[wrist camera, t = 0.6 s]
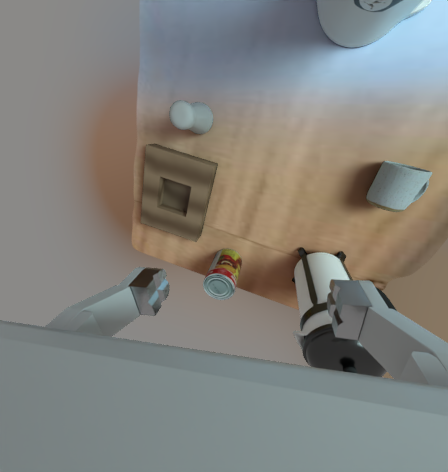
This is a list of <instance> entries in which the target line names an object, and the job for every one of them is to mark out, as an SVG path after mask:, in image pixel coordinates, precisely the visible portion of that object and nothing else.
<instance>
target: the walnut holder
mask: <svg viewBox="0 0 448 472" xmlns="http://www.w3.org/2000/svg"><path fill="white" fill-rule="evenodd" d="M217 166H218V164H217V163H214V162H211V161H208V160H204V159H201V158H198V157H195V156H192V155H189V154H186V153H182V152H179V151H176V150H173V149H170V148H167V147H163V146H160V145H157V144H148V145H146V152H145V167H144V181H143V196H142V211H141V223H143V224H146V225H149V226H151V227H154V228H157V229H160V230H163V231H166V232H169V233H172V234H175V235H178V236H180V237H183V238H186V239H189V240H192V241H195V242H197V240H198V239H199V237H200V236H201V233H202V229H203V225H204V221H205V216H206V212H207V208H208V204H209V199H210V195H211V191H212V187H213V182H214V178H215V174H216V170H217Z"/></svg>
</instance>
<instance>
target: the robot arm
mask: <svg viewBox="0 0 448 472" xmlns="http://www.w3.org/2000/svg"><path fill="white" fill-rule="evenodd" d="M316 1H317V9H318V16H319V20H320V23H321V26H322V28H323V30H324V32H325V33H326V35H327V36H328V37H329V38H330V39H331V40H332V41H333V42H335V43H336V44H338V45H341V46H344V47H361V46H365V45H368V44H370V43H373V42H375V41H376V40H378V39H380V38H381V37H383V36H384V35H386V34H387V33H388V32H389V31H391V30H392V29H393V28H394V27H395V26H396V25H397V24H398V23H400V22H401V21H402V20H404V19H406V18H408V17H411V16H413V15H415V14H417V13H419V12H421V11H422V10H424V9H425V8H426V7H427V6H428V5H429V4H430V2H431V1H432V0H316ZM166 276H167V275H166V272H165V270H164V269H157V268H145V267H138V268H135V269H134V270H133V272H131V273H130V274H129V275H128V276H127V277H126V278H125V279H124V280H123V281H122V282H121V283H120V284H119V285H118V286H113V287H111V288H109V289H107V290H105V291H103V292H101V293H98V294H96V295H94V296H92V297H90V298H87V299H85V300H83V301H81V302H79V303H77V304H75V305H72V306H70V307H68V308H66V309H65V310H64V311H63V312H61V313H60V314H59V315H58V316H57V317H56V318H55V319H53V320H52V321H51V322H50V323H49V324H48V325H46V326H45V327H42V326H36V325H29V324H22V323H15V322H9V321H2V320H0V472H448V343H447V342H445V341H443V340H442V339H440V338H439V337H437V336H435V335H434V334H432V333H430V332H429V331H427V330H426V329H424V328H423V327H421V326H420V325H418V324H416V323H415V322H413V321H412V320H410V319H408V318H407V317H405V316H404V315H402V314H400V313H399V312H397V311H396V310H394V309H389V308H388V306H387V305H386V303H385V302H384V300H383V299H382V297H381V296H380V294H379V293H378V291H377V289H376V288H375V286H374V285H373V283H372V282H371V281H363V280H356V281H353V280H335V279H331V281H330V285H329V288H330V290H331V292H330V293H329V294H328V296H327V309H328V313H329V316H330V317H331V318H332V327H333V330H334V334H335V337H338V338H345V339H352V340H359V343H360V344H361V345H362V346H363V347H364V348H365V349H366V350H367V351H368V352H369V353H370V354H371V355H372V356H373V357H374V358H375V359H376V360H377V361H378V362H379V363H380V364H381V365H382V366H383V368H384V369H385V370H386V371H387V372H388V373H389V374H390V375H391V376H392V377H393V378H394V379H389V378H383V377H376V376H369V375H363V374H356V373H349V372H343V371H336V370H329V369H322V368H316V367H308V366H302V365H296V364H289V363H282V362H276V361H269V360H263V359H256V358H249V357H243V356H236V355H229V354H223V353H216V352H209V351H202V350H196V349H189V348H182V347H176V346H169V345H162V344H155V343H149V342H142V341H136V340H129V339H122V338H116V337H112V336H113V335H115V334H116V333H117V332H118V331H120V330H121V329H123V328H124V327H125V326H127V325H128V324H129V323H130V322H132V321H133V320H134V319H136V318H137V317H139V316H140V315H150V316H155V315H156V314H157V312H158V311H159V309H160V308H161V302H163V301H164V300H166V298H167V296H168V294H169V283H168V282H167V280H166V279H165V278H166Z"/></svg>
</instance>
